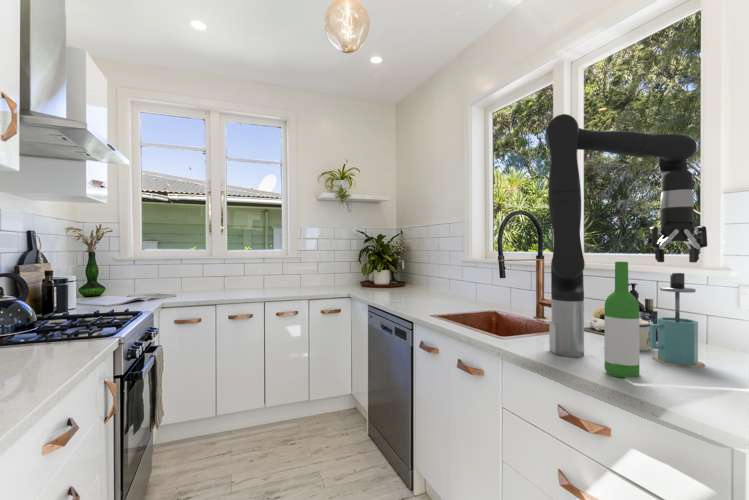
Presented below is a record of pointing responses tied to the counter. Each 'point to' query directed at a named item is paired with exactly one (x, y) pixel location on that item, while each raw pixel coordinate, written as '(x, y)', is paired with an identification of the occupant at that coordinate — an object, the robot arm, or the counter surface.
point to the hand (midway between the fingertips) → (676, 262)
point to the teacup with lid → (644, 334)
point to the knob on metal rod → (677, 291)
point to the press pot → (676, 341)
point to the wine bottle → (622, 328)
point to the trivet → (679, 365)
